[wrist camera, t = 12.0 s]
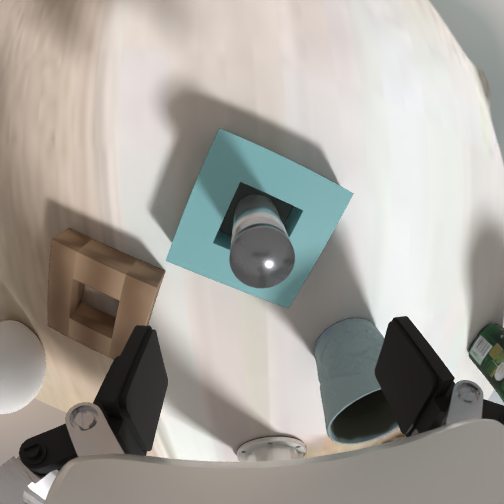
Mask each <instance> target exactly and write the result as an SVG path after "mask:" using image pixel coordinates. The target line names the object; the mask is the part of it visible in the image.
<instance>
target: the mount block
mask: <svg viewBox="0 0 504 504" xmlns="http://www.w3.org/2000/svg"><path fill="white" fill-rule="evenodd" d="M164 274H165V271H164V270H162V269H159V268H157V267H155V266H152V265H150V264H148V263H145V262H143V261H141V260H138V259H136V258H134V257H131V256H129V255H127V254H124V253H122V252H120V251H118V250H115V249H113V248H111V247H109V246H106V245H104V244H102V243H100V242H98V241H95V240H93V239H91V238H89V237H87V236H85V235H83V234H80V233H78V232H76V231H74V230H72V229H70V228H69V229H67V230H66V231H64V232H63V233H61V234H60V235H58V236H57V237H55V238H54V239H52V246H51V255H50V266H49V281H48V326H49V327H51V328H53V329H54V330H56V331H58V332H60V333H62V334H63V335H65V336H67V337H69V338H71V339H73V340H75V341H77V342H79V343H81V344H83V345H85V346H87V347H89V348H91V349H93V350H95V351H97V352H99V353H101V354H104V355H106V356H108V357H110V358H112V359H115V358H116V357H117V356H120V355H121V353H122V351H123V349H124V347H125V345H126V343H127V341H128V339H129V337H130V335H131V333H132V331H133V329H134V327H135V326H136V325H144V326H148V323H149V320H150V317H151V313H152V310H153V307H154V304H155V301H156V298H157V295H158V292H159V289H160V286H161V283H162V280H163V277H164ZM84 284H85V285H87V286H89V287H91V288H93V289H95V290H97V291H100V292H102V293H104V294H106V295H108V296H110V297H112V298H115V299H117V300H119V306H118V310H117V315H116V318H114V317H112V316H110V315H108V314H106V313H103V312H101V311H99V310H97V309H95V308H93V307H91V306H89V305H87V304H85V303H83V302H82V299H83V291H84Z"/></svg>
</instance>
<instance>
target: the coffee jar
mask: <svg viewBox="0 0 504 504" xmlns="http://www.w3.org/2000/svg"><path fill="white" fill-rule="evenodd" d="M469 357H470V359H471V360H472V361H473V362H474V364H475V365H476V366H477V367H478V369H479V370H480V371H481V372H482V374H483V375H484V376H485V377H486V379H487V380H488V381H489V382H490V384H491V385H492V386H493V388H494V389H495V390H496V392H497V393H498V394H499V396H500V397H501V399H502V400H503V402H504V328H503V327H502V326H500V325H497V324H489V325H488V326H487V327H486V328H485V329H484V330H483V331H481V332H480V333H479V334H478V336H477V337H476V339H475V340H474V342H473V344H472V346H471V348H470V351H469Z"/></svg>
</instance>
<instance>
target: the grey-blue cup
mask: <svg viewBox="0 0 504 504" xmlns="http://www.w3.org/2000/svg"><path fill="white" fill-rule="evenodd" d="M383 342H384V337H383V336H382V334H381V333H380V332H379V330H378V329H377V328H376V326H375V325H374V324H373V323H371V322H370V321H368V320H365V319H361V318H350V319H345V320H342V321H339V322H337V323H335V324H333V325H332V326H330V327H329V328H328V329H326V330H325V331H324V332H323V333H322V334H321V336H320V337H319V338H318V340H317V342H316V345H315V359H316V364H317V371H318V378H319V382H320V391H321V398H322V403H323V409H324V415H325V423H326V430H327V434H328V436H329V437H330V438H331V439H332V440H333V441H335V442H337V443H341V444H359V443H365V442H369V441H372V440H375V439H378V438H380V437H382V436H385V435H387V434H389V433H391V432H392V431H394V430H395V429H397V428H398V427H399V425H398V423H397V421H396V419H395V417H394V414H393V412H392V410H391V408H390V406H389V404H388V402H387V400H386V397H385V395H384V393H383V391H382V389H381V387H380V385H379V383H378V381H377V379H376V377H375V367H376V364H377V361H378V358H379V355H380V351H381V348H382V345H383Z"/></svg>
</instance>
